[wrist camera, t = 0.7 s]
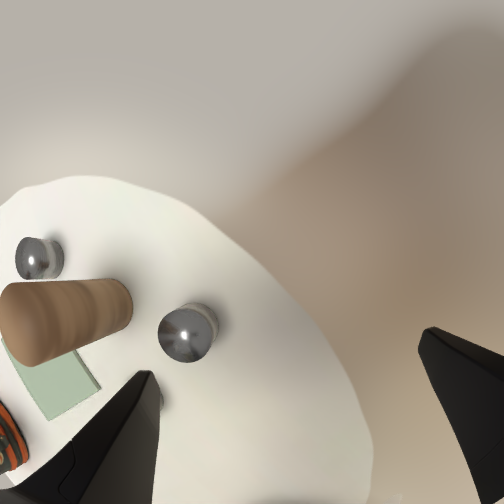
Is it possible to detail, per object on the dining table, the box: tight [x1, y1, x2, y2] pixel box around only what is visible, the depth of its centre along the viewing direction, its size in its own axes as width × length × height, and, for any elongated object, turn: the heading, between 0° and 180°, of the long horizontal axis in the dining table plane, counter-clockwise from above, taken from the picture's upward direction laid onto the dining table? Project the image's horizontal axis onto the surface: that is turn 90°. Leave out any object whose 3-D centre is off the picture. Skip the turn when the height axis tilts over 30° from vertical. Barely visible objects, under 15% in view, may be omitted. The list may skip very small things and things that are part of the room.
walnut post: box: [0, 279, 133, 367], centre depth 17 cm, size 5×5×12 cm
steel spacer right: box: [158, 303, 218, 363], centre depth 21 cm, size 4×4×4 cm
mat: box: [1, 337, 101, 421], centre depth 22 cm, size 12×12×1 cm
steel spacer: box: [15, 237, 64, 280], centre depth 21 cm, size 4×4×4 cm
